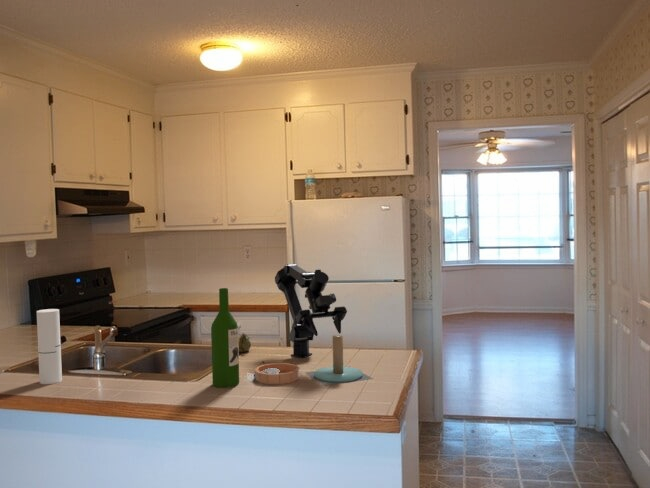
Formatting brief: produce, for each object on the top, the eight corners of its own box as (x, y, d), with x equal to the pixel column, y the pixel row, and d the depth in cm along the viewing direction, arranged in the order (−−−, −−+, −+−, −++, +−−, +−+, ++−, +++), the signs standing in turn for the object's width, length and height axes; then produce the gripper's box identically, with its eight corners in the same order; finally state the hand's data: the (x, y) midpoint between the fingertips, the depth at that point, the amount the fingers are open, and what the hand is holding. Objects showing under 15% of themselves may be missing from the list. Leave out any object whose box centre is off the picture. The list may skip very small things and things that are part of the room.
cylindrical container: (66, 379, 209) (63, 309, 208) (51, 384, 202) (48, 312, 201) (50, 377, 211) (47, 308, 210) (34, 383, 204) (31, 311, 203)
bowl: (273, 370, 216) (273, 361, 215) (307, 376, 207) (307, 366, 207) (246, 380, 203) (246, 370, 203) (281, 387, 195) (280, 376, 195)
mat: (304, 373, 211) (304, 372, 211) (349, 367, 219) (349, 366, 219) (325, 386, 195) (325, 385, 195) (373, 379, 202) (373, 378, 202)
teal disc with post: (331, 366, 218) (330, 329, 218) (371, 373, 209) (370, 334, 208) (304, 377, 204) (303, 338, 204) (346, 385, 195) (345, 343, 194)
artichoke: (253, 349, 251) (253, 330, 250) (249, 353, 243) (249, 334, 242) (236, 349, 251) (236, 330, 251) (231, 353, 244) (231, 334, 243)
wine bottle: (231, 388, 194) (228, 290, 192) (207, 386, 197) (204, 289, 195) (244, 381, 202) (241, 287, 201) (221, 379, 205) (218, 286, 204)
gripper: (298, 288, 213) (310, 323, 204) (344, 284, 221) (358, 318, 211) (290, 306, 221) (302, 341, 211) (335, 303, 228) (349, 336, 219)
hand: (328, 334), depth 213 cm, fingers open, 9 cm apart
